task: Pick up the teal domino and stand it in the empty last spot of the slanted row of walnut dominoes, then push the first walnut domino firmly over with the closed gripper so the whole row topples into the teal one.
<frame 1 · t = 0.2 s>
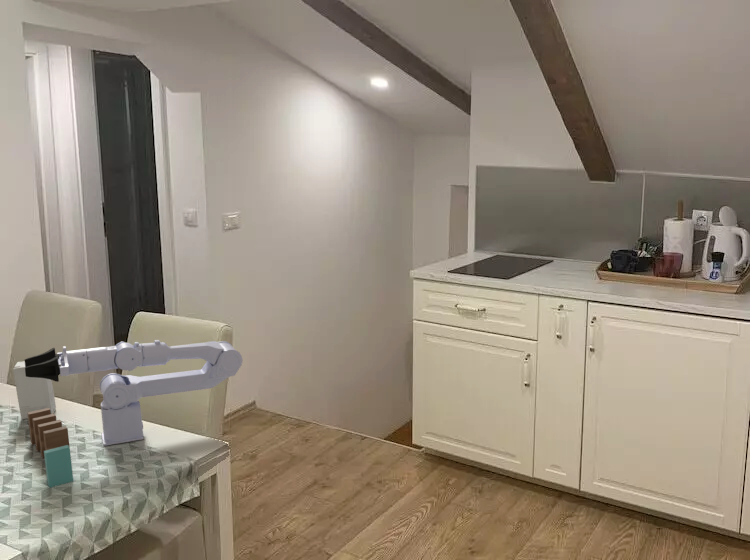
hand: (25, 367, 180), 21 cm above the table, tool horizontal, fingers open, 7 cm apart
teal domino: (60, 482, 169), on the table
walnut domino 3: (53, 454, 183), on the table
walnut domino 4: (59, 461, 179), on the table
skincare box: (38, 415, 208), on the table
walnut domino 2: (47, 447, 187), on the table
walnut domino 1: (42, 441, 191), on the table
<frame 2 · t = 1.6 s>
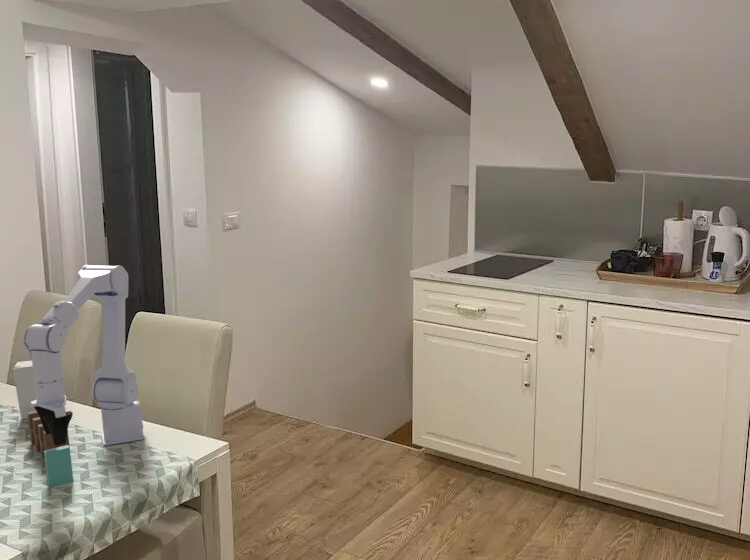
hand: (55, 438, 166), 10 cm above the table, tool pointing down, fingers open, 7 cm apart
nothing on the table moved.
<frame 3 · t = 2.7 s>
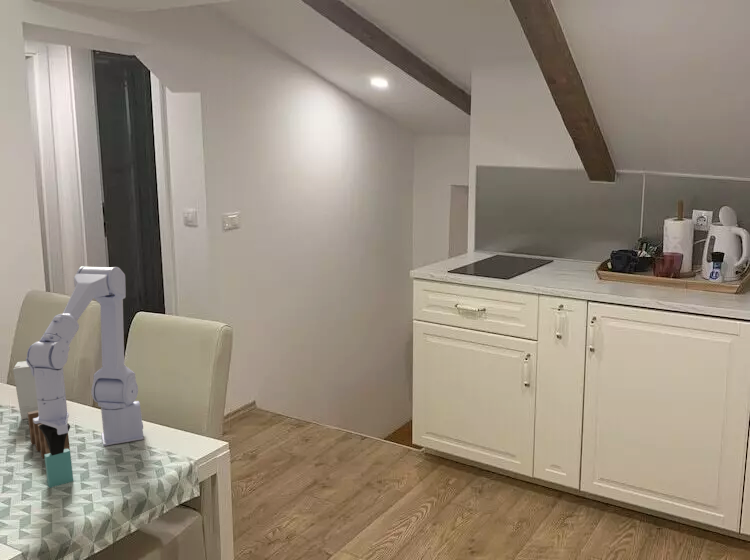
hand: (57, 455, 167), 7 cm above the table, tool pointing down, fingers closed, pressing on teal domino
teal domino: (61, 486, 169), on the table, touching gripper
everything else where it was.
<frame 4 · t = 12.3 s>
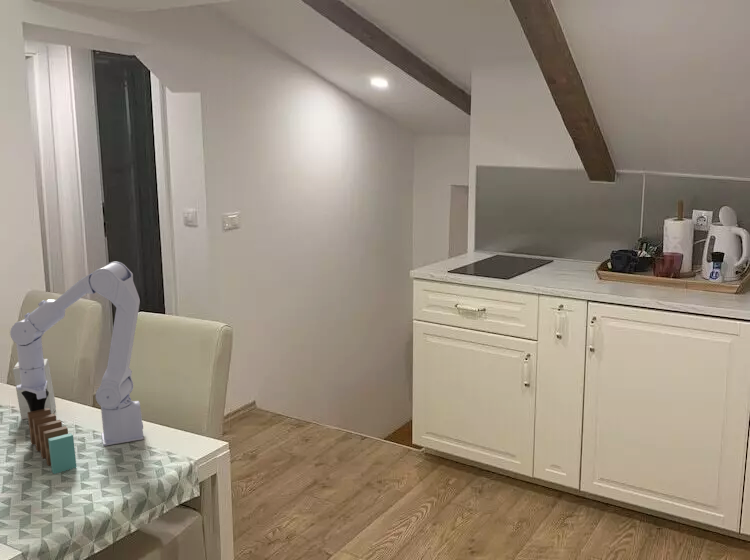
hand: (38, 418, 191), 5 cm above the table, tool pointing down, fingers closed
teal domino: (64, 469, 175), on the table
walnut domino 1: (42, 441, 191), on the table, touching gripper
everything else where it was.
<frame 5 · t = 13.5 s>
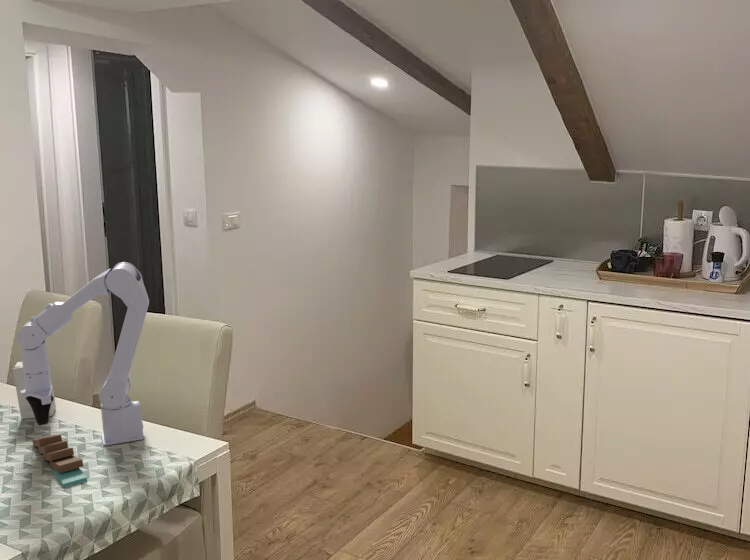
hand: (42, 423, 188), 5 cm above the table, tool pointing down, fingers closed
teal domino: (65, 470, 174), on the table, tilted 90°
walnut domino 3: (54, 453, 182), point 1 cm above the table, tilted 71°, touching walnut domino 2, walnut domino 4
walnut domino 4: (61, 460, 178), point 1 cm above the table, tilted 79°, touching walnut domino 3
walnut domino 2: (49, 447, 186), point 1 cm above the table, tilted 71°, touching walnut domino 1, walnut domino 3
walnut domino 1: (43, 440, 189), point 1 cm above the table, tilted 71°, touching walnut domino 2
everything else where it was.
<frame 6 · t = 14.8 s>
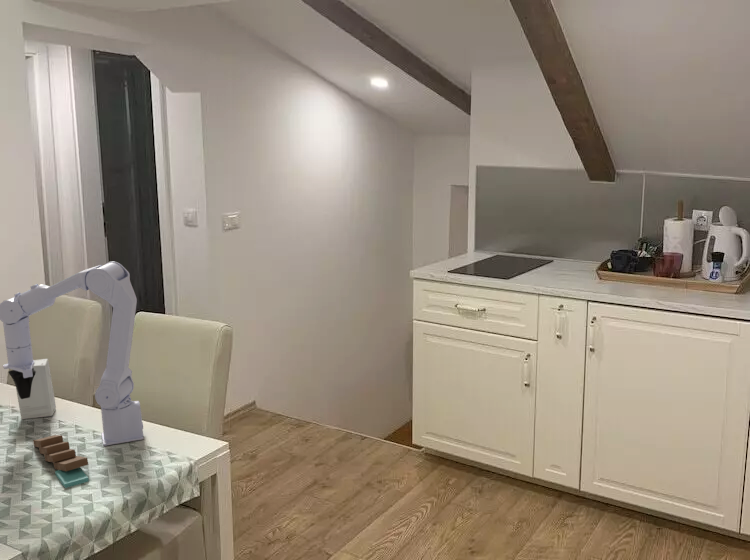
hand: (25, 397, 192), 10 cm above the table, tool pointing down, fingers closed
walnut domino 3: (55, 454, 181), point 1 cm above the table, tilted 72°
walnut domino 4: (64, 462, 177), point 1 cm above the table, tilted 75°
walnut domino 2: (50, 447, 185), point 1 cm above the table, tilted 71°, touching walnut domino 1
everything else where it was.
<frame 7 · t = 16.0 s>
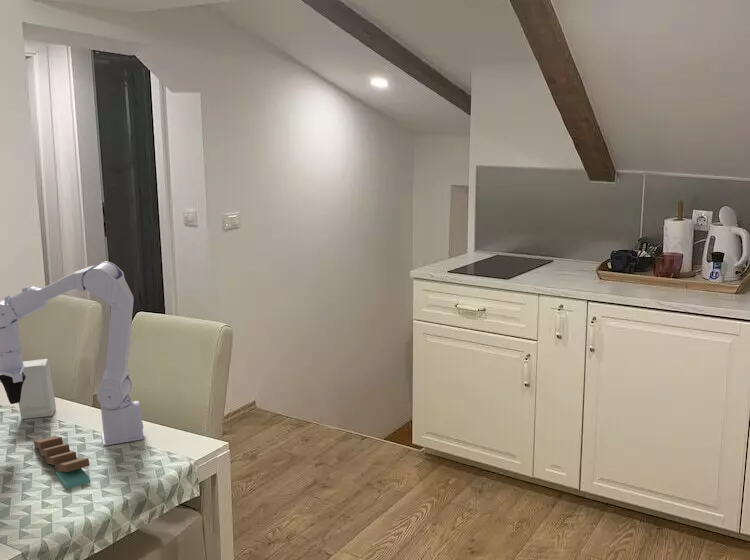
hand: (14, 402, 188), 10 cm above the table, tool pointing down, fingers closed
teal domino: (67, 471, 174), on the table, tilted 90°, touching walnut domino 4
walnut domino 3: (56, 456, 180), point 1 cm above the table, tilted 73°, touching walnut domino 2, walnut domino 4
walnut domino 4: (66, 464, 175), point 1 cm above the table, tilted 73°, touching teal domino, walnut domino 3
walnut domino 2: (50, 449, 184), point 1 cm above the table, tilted 73°, touching walnut domino 1, walnut domino 3
everything else where it was.
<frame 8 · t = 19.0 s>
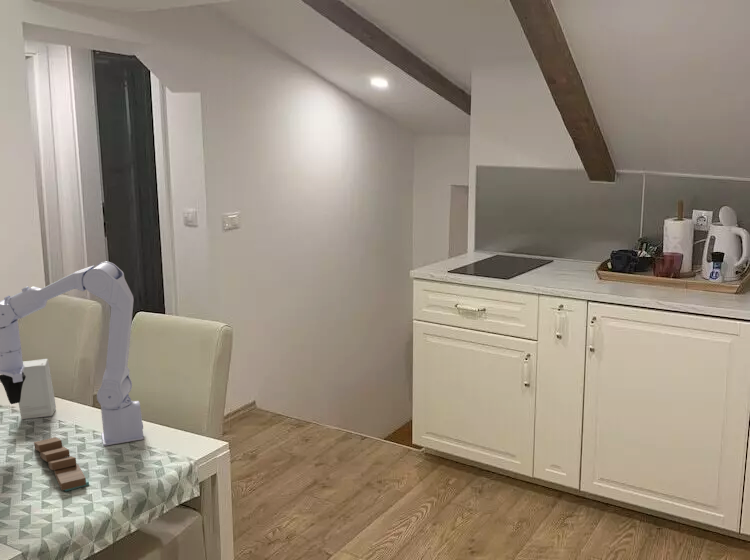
hand: (14, 402, 188), 10 cm above the table, tool pointing down, fingers closed
teal domino: (67, 475, 173), on the table, tilted 90°, touching walnut domino 4
walnut domino 3: (60, 462, 177), point 1 cm above the table, tilted 71°
walnut domino 4: (66, 470, 171), point 1 cm above the table, tilted 90°, touching teal domino
walnut domino 2: (51, 451, 183), point 1 cm above the table, tilted 76°, touching walnut domino 1
at the end: teal domino tilted 90°; walnut domino 4 tilted 90°; walnut domino 1 tilted 76° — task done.
